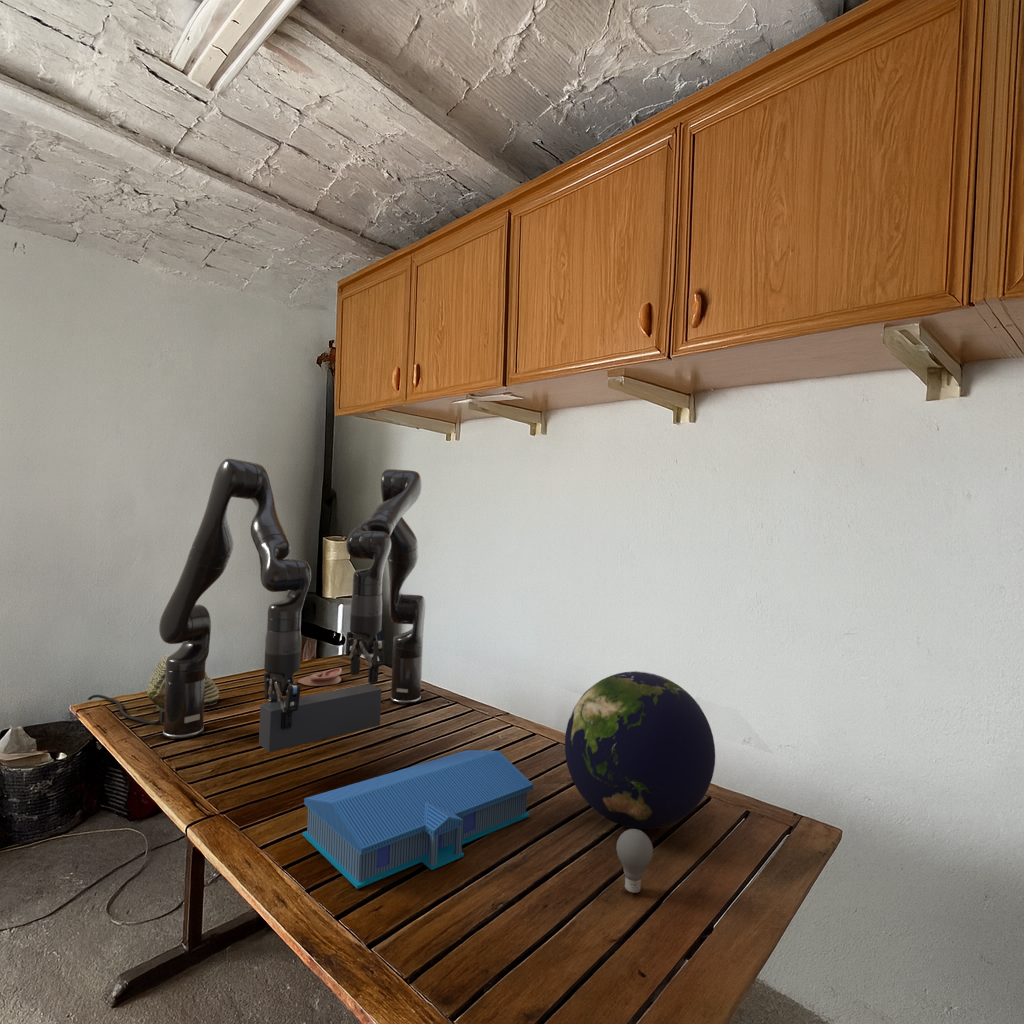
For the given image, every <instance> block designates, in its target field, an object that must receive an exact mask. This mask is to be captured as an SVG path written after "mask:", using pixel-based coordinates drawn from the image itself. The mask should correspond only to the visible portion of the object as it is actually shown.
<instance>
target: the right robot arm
mask: <svg viewBox="0 0 1024 1024" xmlns="http://www.w3.org/2000/svg"><path fill="white" fill-rule="evenodd" d="M381 473H382V474H381V476H380V495H381V503H380V504H378V505H377V506H376V507H375V508H374V509H373V510H372V512H371V513H370V515H369V516H368V518H367V520H366V519H365V521H363V522H362V523H360V524H359V525H357V526H356V527H355V528H353V530H352V531H351V532H350V533H349V535H348V537H347V539H346V543H345V548H346V552H347V554H348V555H349V557H351V558H353V559H356V560H372V561H373V562H372V565H371V566H370V567H366V568H359V569H356V570H355V571H354V572H353V575H352V594H351V601H350V617H349V618H350V619H349V631H347V632H346V641H345V655H346V656H348V659H349V660H350V668H349V669H350V670H349V673H350V675H351V676H357V675H360V673H361V659H360V658H361V656H362V655H363V658H364V660H366V661H367V664H368V675H367V676H368V677H367V682H368V684H375V683H378V680H379V669H380V667H382V666H385V664H386V663H385V660H386V659H385V657H386V656H385V653H386V651H385V647H386V643H385V640H384V639H382V640H378V636H377V635H378V633H380V632H381V631H382V623H383V595H382V593H383V577H384V572H385V568H386V564H387V567H388V583H389V587H388V588H389V597H388V599H389V602H388V603H389V604H388V609H389V610H388V611H389V618H390V621H391V622H392V623H393V624H397V625H412V627H411V629H409V630H408V631H405V632H402V633H399V634H396V635H395V636H393V640H392V661H391V662H392V664H391V665H392V666H391V685H390V686H391V689H390V701H391V702H392V703H395V704H399V705H411V704H416V703H419V702H420V701H421V700H422V694H421V693H422V672H423V649H424V648H423V647H424V625H425V617H426V599H425V597H424V596H423V595H422V594H404V593H402V587H403V585H404V584H405V582H406V580H407V579H408V577H409V576H410V574H411V573H412V571H413V570H414V569H415V567H416V565H417V564H418V561H419V546H418V538H417V536H416V534H415V533H414V531H413V530H412V528H411V526H410V525H409V524H408V523H407V521H406V520H405V519H404V517H403V516H404V515H405V514H406V513H407V512H408V511H409V510H410V509H411V508H412V507H413V506H414V504H415V503H416V502H417V501H418V500H419V498H420V496H421V492H422V477H421V474H419V472H418V471H416V470H410V469H409V470H408V469H395V468H393V469H391V468H388V469H387V468H386V469H385V470H383V472H381ZM379 657H380V658H379Z"/></svg>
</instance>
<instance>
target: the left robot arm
mask: <svg viewBox="0 0 1024 1024" xmlns="http://www.w3.org/2000/svg"><path fill="white" fill-rule="evenodd" d="M232 498H235V499H236V498H237V499H243V500H250V501H252V503H253V504H254V506H255V508H256V510H255V513H254V516H253V517H252V519H251V523H250V527H249V528H250V536H251V539H252V541H253V544H254V546H255V549H256V551H257V554H258V558H259V559H258V561H259V568H260V569H259V570H260V571H259V573H260V574H259V577H260V583H261V585H262V586H263V588H264V589H265V590H267V591H268V592H271V593H279V592H282V593H283V592H287V594H286V595H285V597H284V598H282V599H280V600H278V601H274V602H272V603H270V604H269V606H268V607H267V622H266V623H267V624H266V635H265V641H264V642H265V643H264V667H263V669H264V674H263V676H264V677H263V680H264V682H263V683H264V685H263V686H264V699H265V700H267V703H271V702H276V701H278V702H279V703H280V704H281V712H282V713H281V729H283V730H286V729H290V728H291V727H292V712H293V711H297V710H298V705H299V697H301V689H302V688H301V686H302V685H301V683H298V684H295V678H294V677H295V676H294V674H295V673H296V672H299V671H300V669H301V661H302V657H301V656H302V632H301V628H302V627H301V626H302V610H303V607H304V603H305V600H306V596H307V594H308V592H309V591H308V590H309V588H310V585H311V580H312V570H311V566H310V565H309V563H308V562H307V561H306V560H305V559H302V558H290V559H289V558H288V559H286V558H287V557H288V556H289V555H290V553H291V551H292V547H291V543H290V541H289V538H288V536H287V534H286V531H285V530H284V528H283V525H282V523H281V521H280V518H279V515H278V511H277V507H276V502H275V497H274V493H273V489H272V484H271V480H270V478H269V474H268V472H267V470H266V468H265V467H264V466H263V465H262V464H259V463H256V462H253V461H246V460H242V459H238V458H237V459H236V458H225V459H223V461H221V463H220V464H219V466H218V468H217V469H216V472H215V475H214V479H213V482H212V485H211V489H210V493H209V496H208V499H207V504H206V507H205V511H204V514H203V517H202V519H201V522H200V525H199V526H198V527H199V528H198V531H197V532H196V535H195V537H194V539H193V542H192V545H191V546H190V550H189V553H188V556H187V559H186V561H185V564H184V567H183V569H182V572H181V574H180V576H179V579H178V582H177V583H176V586H175V588H174V590H173V592H172V595H171V596H170V598H169V600H168V602H167V604H166V606H165V608H164V609H163V611H162V613H161V616H160V619H159V625H158V632H159V636H160V638H161V640H162V641H163V642H164V643H166V644H168V645H179V644H181V645H180V647H179V648H178V649H177V650H176V651H174V652H173V653H172V654H169V655H170V656H169V657H168V658H167V660H166V674H165V705H164V709H160V711H159V718H158V719H157V720H155V721H149V720H145V719H142V718H139V717H136V716H133V715H130V714H129V713H126V712H125V710H124V706H123V705H122V703H121V702H120V701H119V700H117V699H115V698H112V697H109V696H106V695H103V694H92V695H91V696H89V697H88V698H87V701H90V700H92V699H95V698H99V699H103V700H106V701H108V702H112V703H115V704H116V705H117V707H118V708H119V712H120V714H121V715H122V716H123V717H125V718H126V719H128V720H132V721H136V722H137V723H141V724H144V725H145V724H146V725H157V724H163V730H162V737H164V738H166V739H169V740H185V739H190V738H191V739H192V738H194V737H197V736H199V735H202V734H203V732H204V730H205V729H204V727H205V725H204V722H205V721H204V718H205V706H204V693H205V672H206V664H207V663H206V662H207V659H208V656H209V653H210V643H211V633H212V619H211V618H212V617H211V614H210V612H209V610H208V608H207V607H206V606H205V605H203V604H197V602H198V601H199V599H200V598H201V597H202V596H203V594H205V593H206V591H208V589H209V588H211V586H213V584H215V582H217V581H218V580H219V578H221V576H222V575H223V573H224V572H225V571H226V568H227V566H228V564H229V561H230V559H231V556H232V554H233V551H234V539H233V535H232V532H231V528H230V525H229V522H228V516H227V515H228V507H229V504H230V502H231V499H232ZM285 701H286V704H285Z"/></svg>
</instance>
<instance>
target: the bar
mask: <svg viewBox="0 0 1024 1024" xmlns="http://www.w3.org/2000/svg"><path fill="white" fill-rule="evenodd" d="M285 704H286V701H285ZM381 708H382V689H381V688H380V687H377V686H375V685H373V684H372V683H366V684H361V685H355V686H351V687H350V686H349V687H345V688H339V689H334V690H329V691H323V692H320V693H319V692H318V693H313V694H308V695H303V696H300V697H299V705H298V710H297V711H293V712H292V727H291V728H290V729H286V730H283V729H281V713H282V712H281V704H280V703H279V702H278V701H276V702H271V703H268V702H266V703H261V704H259V729H258V731H259V732H258V745H259V746H260V747H261V748H263V749H264V750H265V751H267V753H272V752H277V751H281V750H284V749H289V748H293V747H297V746H302V745H306V744H309V743H313V742H317V741H321V740H326V739H329V738H334V737H338V736H342V735H346V734H351V733H355V732H358V731H363V730H366V729H370V728H375V727H379V726H381V713H382V709H381Z"/></svg>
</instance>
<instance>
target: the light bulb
mask: <svg viewBox="0 0 1024 1024" xmlns="http://www.w3.org/2000/svg"><path fill="white" fill-rule="evenodd" d="M615 849H616V854H617V857H618V859H619V861H620V863H621V865H622V867H623V873H624V874H623V875H624V876H625V878H624V888H625V890H627V891H628V892H630V893H634V894H635V893H639V892H640V891H641V889H642V887H641V886H642V879H643V877H644V875H645V871H646V868H647V867H648V866H649V864H650V863H651V861H652V859H653V855H654V847H653V843H652V841H651V838H649V836H648V835H647V834H646V833H645V832H643V831H642V830H641V829H636V828H629V829H627V830H625V831H623V832H622V833H621V834H620V835H619V837H618V839H617V841H616V847H615Z"/></svg>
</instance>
